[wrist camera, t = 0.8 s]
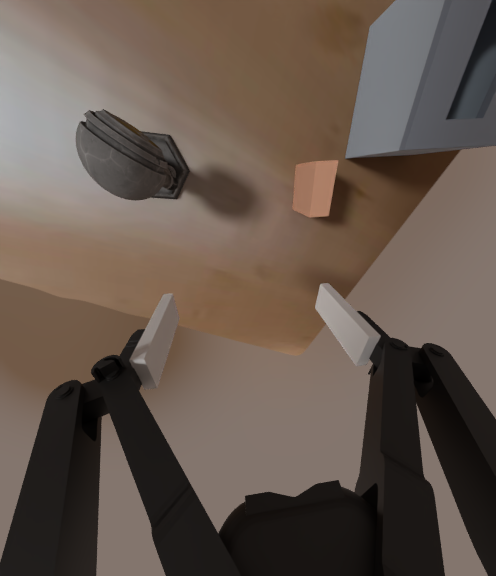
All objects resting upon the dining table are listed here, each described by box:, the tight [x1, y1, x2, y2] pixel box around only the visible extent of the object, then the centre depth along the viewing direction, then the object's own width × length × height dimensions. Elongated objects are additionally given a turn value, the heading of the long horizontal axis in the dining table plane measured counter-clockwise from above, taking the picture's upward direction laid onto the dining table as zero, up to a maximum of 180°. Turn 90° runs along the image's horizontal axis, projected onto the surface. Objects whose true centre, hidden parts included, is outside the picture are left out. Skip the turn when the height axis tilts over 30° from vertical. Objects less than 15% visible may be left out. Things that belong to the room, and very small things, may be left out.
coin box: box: [345, 0, 496, 158], centre depth 23 cm, size 14×12×12 cm
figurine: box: [76, 109, 189, 200], centre depth 23 cm, size 9×10×15 cm
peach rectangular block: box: [293, 160, 338, 218], centre depth 29 cm, size 7×3×8 cm, turn 3°
